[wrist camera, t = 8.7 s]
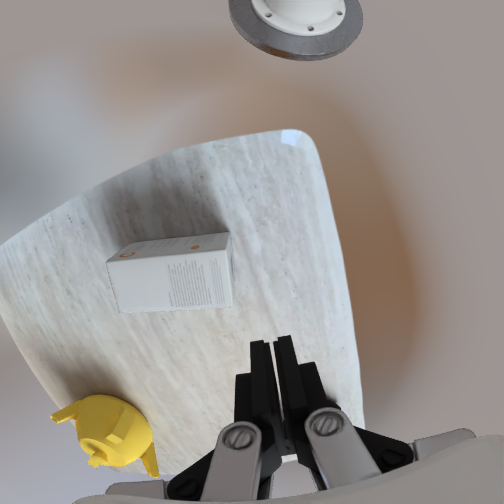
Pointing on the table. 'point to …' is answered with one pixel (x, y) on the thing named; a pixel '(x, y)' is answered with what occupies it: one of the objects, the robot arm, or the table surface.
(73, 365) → the table surface
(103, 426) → the teapot
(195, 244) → the small box
